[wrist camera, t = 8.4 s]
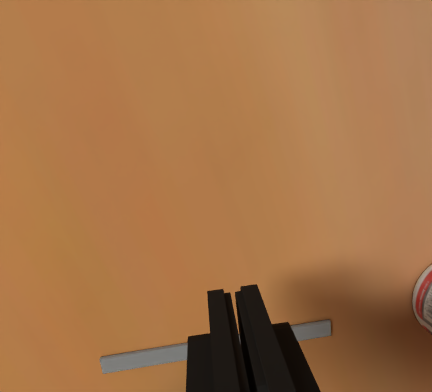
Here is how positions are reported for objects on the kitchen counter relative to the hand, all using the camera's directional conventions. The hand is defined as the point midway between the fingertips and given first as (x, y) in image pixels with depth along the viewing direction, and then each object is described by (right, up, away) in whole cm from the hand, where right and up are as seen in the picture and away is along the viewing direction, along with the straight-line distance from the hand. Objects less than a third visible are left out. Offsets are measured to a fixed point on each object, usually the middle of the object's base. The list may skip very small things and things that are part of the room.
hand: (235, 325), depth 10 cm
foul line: (0, -5, +8) cm, 10 cm away
